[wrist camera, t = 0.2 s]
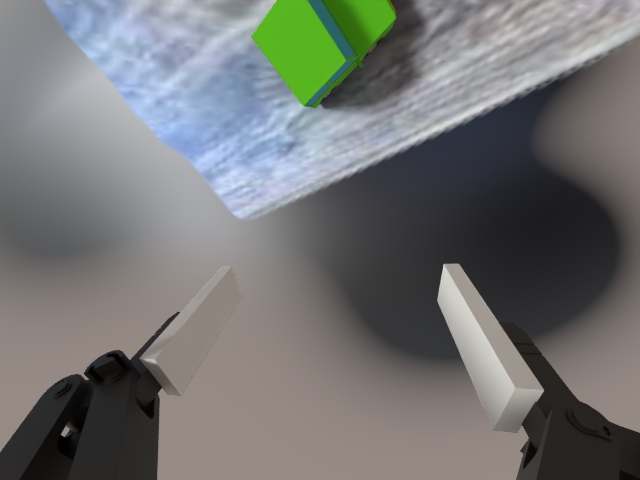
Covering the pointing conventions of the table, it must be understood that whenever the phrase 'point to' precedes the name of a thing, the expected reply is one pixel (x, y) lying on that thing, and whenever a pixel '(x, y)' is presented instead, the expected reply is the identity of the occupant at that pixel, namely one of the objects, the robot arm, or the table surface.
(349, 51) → the toy car
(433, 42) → the table surface
